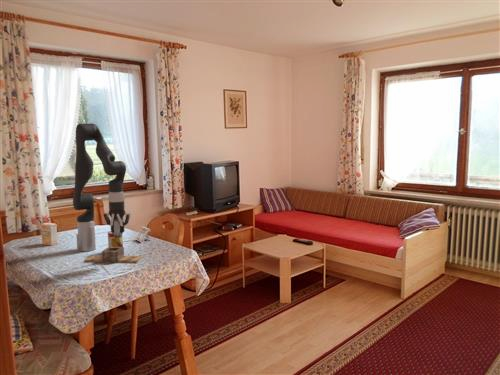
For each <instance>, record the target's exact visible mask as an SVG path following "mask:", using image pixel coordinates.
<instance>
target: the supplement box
mask: <svg viewBox="0 0 500 375" xmlns="http://www.w3.org/2000/svg"><path fill="white" fill-rule="evenodd" d="M40 229H41V244H42V245H45V246H50V247H51V246H54V245H58V244H59V243H58V226H57V223H53V222H44V223H41V224H40Z"/></svg>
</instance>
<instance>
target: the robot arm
mask: <svg viewBox="0 0 500 375" xmlns="http://www.w3.org/2000/svg"><path fill="white" fill-rule="evenodd" d="M86 141H87V142H90V141H91V142H92V141H94V142H96V147H95V154H96V156H97V157H98V159H99V160H100V161H101V164H102V167H103V171H104V173H105V175H107V176H115V178H113V179H111V180H109V181H108V212H106V213H103V217H104V221H105V223H106V225H107V226H110V231H111V232H112V233H114V228H113V221H114V220H119V222H120V225H121V226H120V231H121V233H122V234H123V233H124V232H125V226H127V225H128V224H129V221H130V218H131V213H128V212H126V211H125V194H124V180H125V176H126V173H127V166H126V164H125V162H124V161H121V160H116V156H115V154H114V152H112V150H111V149H110V148H109V146H108V145H107V142H106V140H105V138H104V136H103V134H102V132H101V130H100V128H99V126H98V125H97V124H96V123H77V125H76V127H75V148H76V151H75V166H74V170H75V171H74V190H73V197H72V207H73V209H74V210H75V211H82V210H85V211H84V212H83V213H82V214H79V215H78V216H77V217H76V222H77V223H76V224H77V234H76V248H77V251H79V252H90V251H91V252H92V251H94V250H96V248H97V246H96V245H97V244H96V229H95V197H94V195H93V194H92V193H91V192H90V193H89V192H88V193H86V192H85V193H83V190H84V189H85V186H86V185H87V184H88V182H90V180H91V178H92V176H93V174H94V161H93V160H92V157H91V156H90V154H89V153H88V152H87V149H86V143H85V142H86ZM124 217H125V219H124Z"/></svg>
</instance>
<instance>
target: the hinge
mask: <svg viewBox="0 0 500 375" xmlns="http://www.w3.org/2000/svg"><path fill="white" fill-rule="evenodd" d="M142 259H143V256H142V255H125V247H124V246H123V247H107V248H105V249H103V250H102V251H101V255H98V254H97V255H96V254H95V255H93V254H92V255H90V256H88V257H86V258H85V259H84V263H109V264H110V263H111V264H112V263H116V264H117V263H124V264H125V263H128V264H134V263H135V264H137V263H139V261H141V260H142Z"/></svg>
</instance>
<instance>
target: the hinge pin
mask: <svg viewBox="0 0 500 375" xmlns="http://www.w3.org/2000/svg"><path fill="white" fill-rule="evenodd" d="M120 226H121V225H120V222H119V220H114V221H113V228H114V238H121V237H122V238H123V233H121V231H120Z"/></svg>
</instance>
